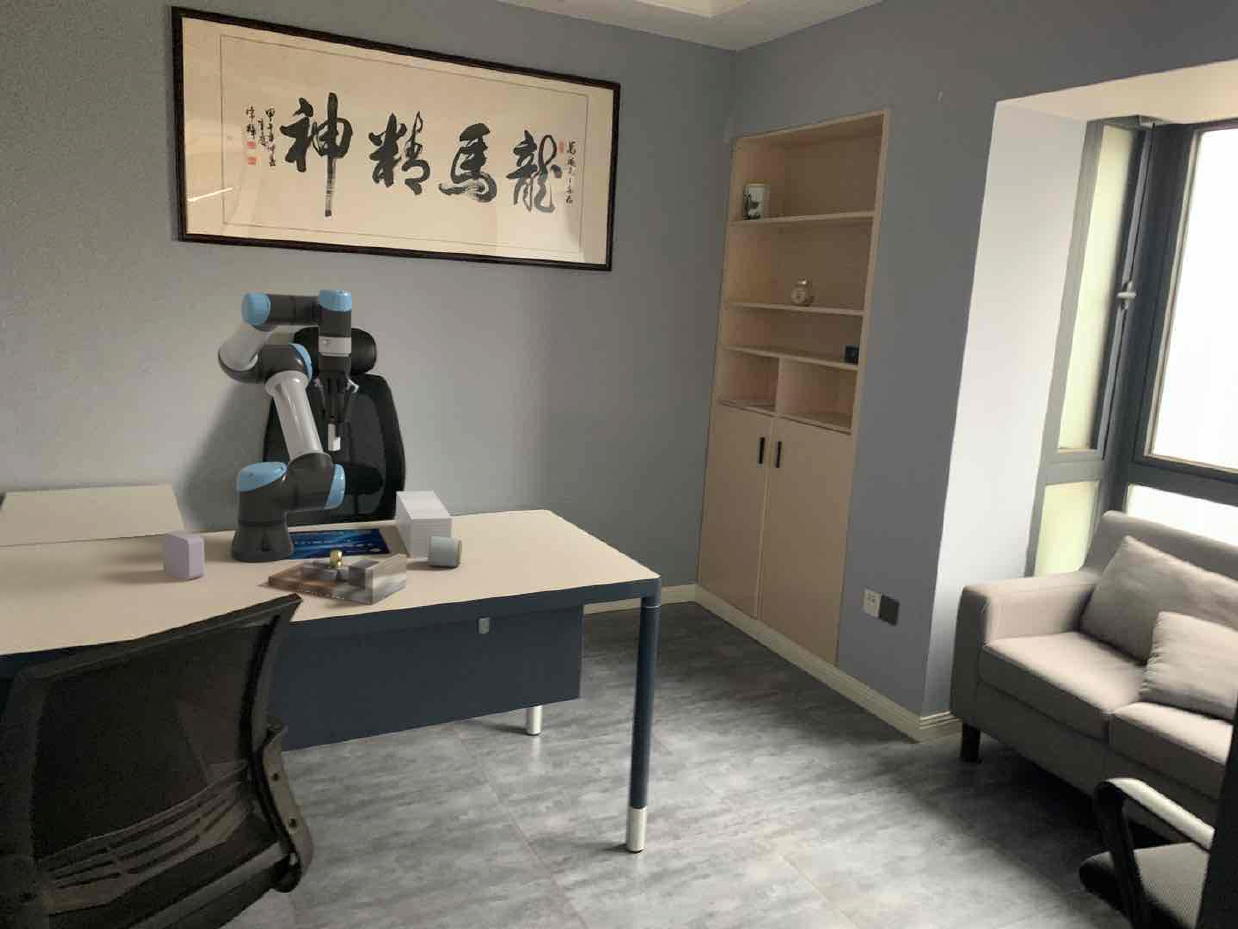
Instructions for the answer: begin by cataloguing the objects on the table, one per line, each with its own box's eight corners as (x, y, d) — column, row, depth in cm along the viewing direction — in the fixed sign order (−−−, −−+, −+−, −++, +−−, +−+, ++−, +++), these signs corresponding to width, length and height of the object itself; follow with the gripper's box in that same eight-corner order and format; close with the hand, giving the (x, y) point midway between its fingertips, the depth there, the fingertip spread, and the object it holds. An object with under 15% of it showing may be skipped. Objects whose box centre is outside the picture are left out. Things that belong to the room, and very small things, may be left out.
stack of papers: (395, 526, 270) (396, 491, 268) (432, 525, 274) (433, 491, 272) (410, 558, 241) (411, 518, 239) (450, 556, 245) (451, 517, 243)
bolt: (327, 577, 214) (327, 552, 213) (334, 574, 216) (334, 549, 215) (372, 585, 210) (372, 560, 209) (378, 581, 213) (378, 557, 212)
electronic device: (207, 577, 215) (206, 536, 214) (189, 581, 211) (188, 540, 210) (181, 568, 220) (180, 528, 218) (163, 572, 216) (162, 532, 214)
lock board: (268, 585, 213) (267, 552, 211) (305, 569, 226) (306, 537, 224) (372, 604, 204) (373, 570, 203) (405, 587, 218) (406, 554, 216)
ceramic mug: (460, 570, 233) (461, 541, 232) (427, 569, 232) (428, 540, 231) (462, 559, 243) (463, 531, 242) (431, 557, 242) (432, 529, 241)
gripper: (302, 352, 220) (302, 448, 224) (348, 357, 216) (347, 455, 220) (321, 351, 227) (321, 444, 231) (366, 355, 223) (365, 450, 228)
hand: (334, 449), depth 226 cm, fingers closed
